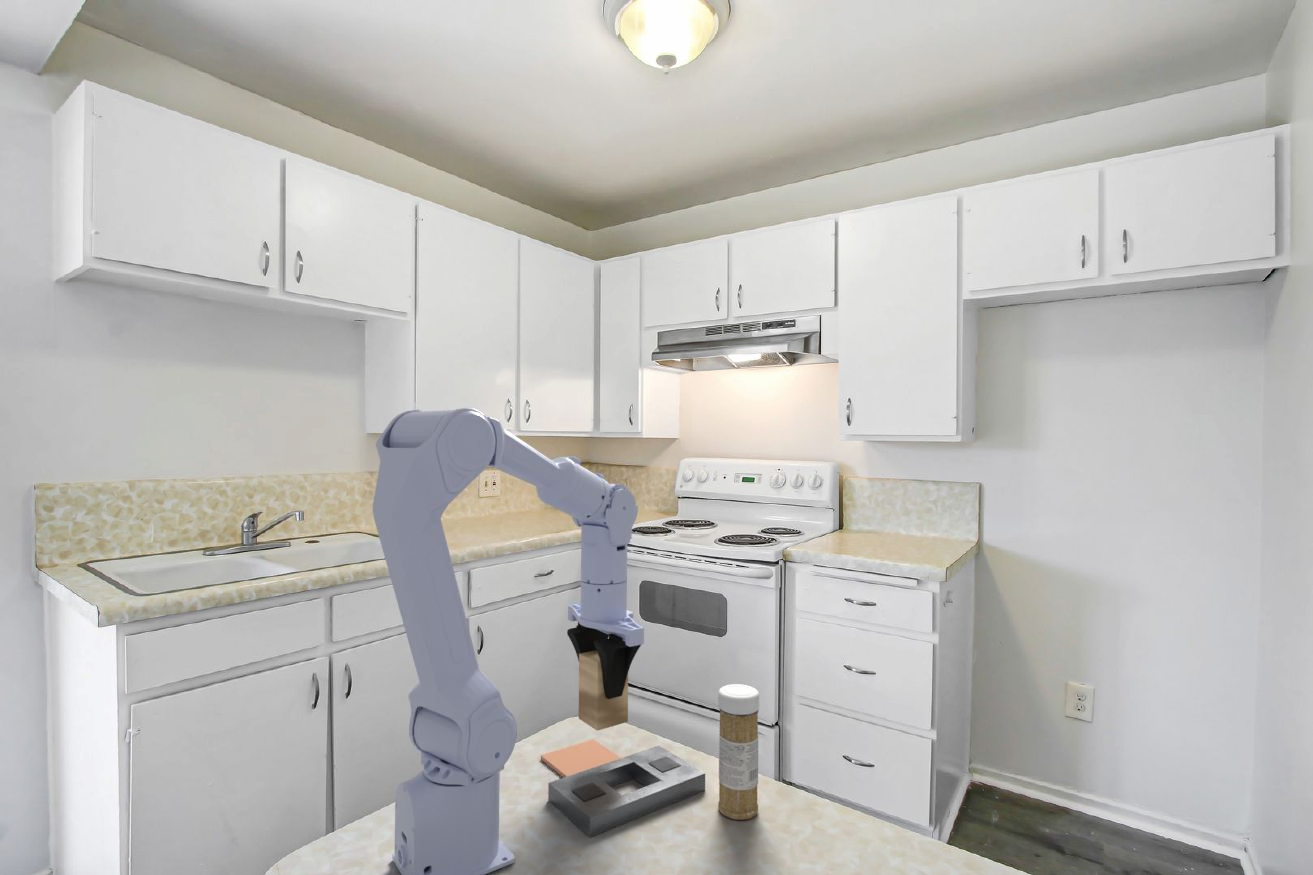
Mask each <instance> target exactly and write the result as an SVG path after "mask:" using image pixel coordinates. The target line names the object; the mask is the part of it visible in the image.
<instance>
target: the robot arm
mask: <svg viewBox="0 0 1313 875" xmlns="http://www.w3.org/2000/svg"><path fill="white" fill-rule="evenodd" d="M375 447H376V450H377V454H378V457H379V468H378V474H377V479H376V484H375V492H374V495H373V496H374V497H373V503H372V513H373V514H372V515H373V520H374V523H375V526H376V529H377V533H378V534H377V535H378V537H379V541H380V545H381V548H382V552H383V556H384V560H385V562H386V567H387V569H388V570H387V571H388V574H389V577H390V581H391V584H392V588H393V591H394V595H395V598H396V603H397V605H398V609H399V613H400V615H401V617H400V618H401V620H402V623H403V627H404V630H405V635H406V638H407V640H408V641H407V642H408V645H409V648H410V653H411V655H412V656H411V657H412V659H413V663H414V666H415V670H416V673H417V677H418V683H417V684H416V685H415V686H414V687H413V688H412V690H411V691H410V692H409V694H408V696H407V697H408V701H409V703H410V719H409V724H408V735H409V739H410V742H411V743H412V745H413V746H414V747H415V749H416V750H418V751H420V754H421V755H420V764H421V765H423V769H422V771H421V772H419V773H417V775H415V776H413V777H412V778H409V779H408V780H405V781H403V782H401V783H400V784H398V786H397V789H396V792H395V802H394V804H395V805H394V812H395V813H394V852H393V853H392V856H391V858H392V861H393V862H394V865H395V866H396V868H397V869H398V871H399V873H400V875H487V874H489V873H491V872H494V871H497V870H500V869H501V868H504V867H506V866H510V865H512V864H513V863H515V861H516V857H515V854H513V852H512V851H511V850H510V849H509V848H508V846H507V845H505V843H504V842H503V841H502V840H501V839H500V786H501V785H500V781H501V780H500V776H501V771H503V770H505V765H506V763H507V762H508V761H509V759H510V758H511V755H512V753H513V752H514V749H515V745H516V743H517V737H518V726H517V720H516V718H515V716H514V714H513V713H512V712H511V711H510V710H509V709H508V707H506V706H505V704H504V702H503V700H502V696H501V692H500V690H499V689H498V688H497V686H496V685H495V684H494V683H493V682H492V681H491V680H490V679H489V678H488V676H487V675H486V674H485V673H484V672H483V671H482V670H481V668H480V666H479V664H478V660H477V657H476V652H475V648H474V644H473V641H472V637H471V632H470V629H469V624H468V620H467V617H466V612H465V609H464V606H463V604H464V603H463V601H462V598H461V597H462V596H461V594H460V590H459V586H458V581H457V577H456V574H455V571H454V570H455V569H454V565H453V563H452V557H451V555H450V551H449V547H448V543H447V539H446V535H445V530H444V527H443V522H442V515H443V514H444V513H445V511H446V509H447V508H448V506H449V505H450V504H451V503H452V502H453V501H454V500H455V499H456V498H457V497H458V496H459V495H460V494H462V493H463V491H464V490H465V489H467V487H469V485H471V484H472V482H474V481H475V480H476V479H477V478H478V477H479V476H480V475H481V474H482V473H483V472H484V471H485V470H486V468H487V467H492V468H494V469H496V470H498V471H501V472H503V473H504V474H507V475H510V476H512V477H514V478H516V479H518V480H521V481H522V482H526V483H528V484H530V485H532V486H534V487H535V490H536V494H537V497H538V498H539V500H540V501H541V502H543V503H545V504H546V505H548V506H550V507H553V508H554V509H556V510H559V511H560V512H562V513H564V514H567V515H568V516H571V519H572V521H573V523H574V525H576V526H577V527H578V528H579V527H580V529H581V534H580V535H581V538H580V539H581V540H580V542H581V543H580V544H581V545H580V603H575V604H568V605H567V620H568V621H570V622H577V625H576V626H575V627H572V628H568V629H567V632H566V633H567V637H568V638H569V640H570V641H571V644H572V645H573V648H574V651H575V654H576V657H577V660H578V662H579V654H580V653H585V652H590V651H595V650H597V652H598V655H599V658H600V662H601V667H602V675H603V687H604V693H605V697H606V698H607V699H612V698H615V697H619V696H622V694H623V690H624V686H625V682H626V678H627V675H628V676H629V672H630V668H631V665H632V662H633V660H634V658H635V656H636V654H637V652H638V651H639V649H640V648H641V647H642V645H644V644H645V627H643V626H641V625H639V624H638V623H637V622H636V621H635V620H634V619H633V618H634V612H633V611H631V610H628V604H627V603H628V599H627V598H628V596H627V595H628V544H630V543H631V540H632V538H633V537H632V536H633V535H632V531H633V526H634V524H635V522H636V519H637V516H638V512H639V511H638V510H639V505H637V503H636V498H635V495H634V494H633V493H632V491H631V490H630V489H629V488H628V487H627V486H626V485H624V484H621V483H620V484H618V483H609V482H608V481H607V480H606V479H605V475H603V474H601V473H599V472H592V471H590V470H589V469H587V468H585V467H583V466H582V465H581V463H582V460H581V459H579V458H578V457H576V456H568V455H567V456H558V457H555V458H554V459H550V458H549V457H547V456H546V455H545V454H543V453H541V452H540V451H538V450H537V449H536V448H534V447H533V446H531V445H529V444H528V443H527V442H525V441H523V439H520V438H519V437H518V436H516V435H514V434H513V433H512V432H510V431H508V430H507V429H505V427H503V425H502V424H501V421H499V419H496V418H494V417H491V416H486V415H485V414H484V413H483V412H481V410H477V409H476V408H472V407H463V408H461V407H460V408H456V409H446V410H444V409H443V410H425V411H422V410H417V409H412V410H406V411H403V412H401V413H398V414H397V415H396V416H395V417H394V418H393V419H391V421H390V422H389V423H388V424H387V427H386V428H385V429H384V430H383V432H382V433H381V435H380V436H379V438H378V439H377V440H376V442H375Z"/></svg>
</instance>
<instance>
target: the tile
mask: <svg viewBox="0 0 1313 875" xmlns="http://www.w3.org/2000/svg"><path fill="white" fill-rule="evenodd" d="M621 758H622V757H621V756H619V755H618V754H616V753H615V752H614V751H612V750H611V749H608V748H607V747H605V746H604V745H603V744H601V743H600V742H598V741H596V740H595V739H589V740H586V741H583V742H580V743H576V744H574V745H570V746H566V747H564V748H561V749H558V750H553V751H551V752H548V753H544V754H542V755H541V754H540V760H541V761H543V763H545V764H546V765H547V766H549V767H550V768H551V769H552V770H553V771H554V772H556V773H557V774H559V776H561V777H562V778H564V777H567V776H570V775H573V774H576V773H579V772H582V771H585V770H588V769H591V768H594V767H597V766H600V765H603V764H606V763H609V762H612V761H615V760H618V759H621Z"/></svg>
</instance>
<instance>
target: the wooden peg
mask: <svg viewBox="0 0 1313 875" xmlns="http://www.w3.org/2000/svg"><path fill="white" fill-rule="evenodd" d="M578 719H579V720H580V721H582V722H583V723H585V724H586V725H587V726H589V727H591V728H592V729H593V730H596V731H601V730H604V729H605V730H606V729H608V728H611V727H612V728H613V727H615V726H618V725H621V724H624V723H625V724H626V723H628V722H629V674H628V675H627V678H626V682H625V686H624V690H623V694H622V696H619V697H615V698H612V699H607V698H606V697H605V693H604V687H603V675H602V667H601V662H600V658H599V655H598V652H597V650H595V651H590V652H585V653H580V654H579V661H578Z"/></svg>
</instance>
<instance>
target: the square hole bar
mask: <svg viewBox="0 0 1313 875" xmlns="http://www.w3.org/2000/svg"><path fill="white" fill-rule="evenodd" d="M630 780H635V781H637V782H638V783H640V784H641V785H643V786H644V787H642V788H638V789H635V790H633V791H631V792H627V793H625V794H621V793H619V792H618V791H617V790H616V789H614V788H613V787H614V786H616V785H620V784H622V783H624V782H628V781H630ZM547 791H548V792H547V793H548V794H547V796H548V799H547V800H548V802H550V803H551V804H552V805H553V807H555V808H556V809H557V810H559V811H560V812H561V813H562V814H563V815H564V816H565V817H566V818H568V820H570V821H571V823H573V824H574V825H575V826H577V828H578V829H579V830H581V831H582V832H583V833H584V834H585V835H587V837H589V838H591V837H595V836H596V835H599V834H601V833H605V832H607V831H609V830H612V829H614V828H617V827H619V826H621V825H624V824H626V823H629V822H631V821H633V820H636V819H638V818H641V817H644V816H646V815H648V814H650V813H653V812H656V811H659V810H661V809H662V808H665V807H667V806H670V805H672V804H674V803H677V802H679V801H682V800H684V799H687V798H689V797H693V796H694V795H697V794H699V793H701V792H704V791H706V772H704V771H702V770H701V769H700V768H698V767H696V766H694V765H692V764H691V763H689V762H687V761H686V760H684V759H682V758H681V757H679V756H677V755H676V754H674V753H673V752H671V751H669V750H667V749H666V748H664V747H662V746H661V745H657V746H654V747H651V748H648V749H647V748H646V749H645V750H642V751H638V752H636V753H633V754H629V755H628V756H627V755H626V756H624V757H621V759H618V760H615V761H612V762H609V763H606V764H603V765H600V766H597V767H594V768H591V769H588V770H585V771H582V772H579V773H576V774H573V775H570V776H567V777H564V778H563V777H562V778H559V779H556V780H553V781H549V782H548V789H547Z"/></svg>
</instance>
